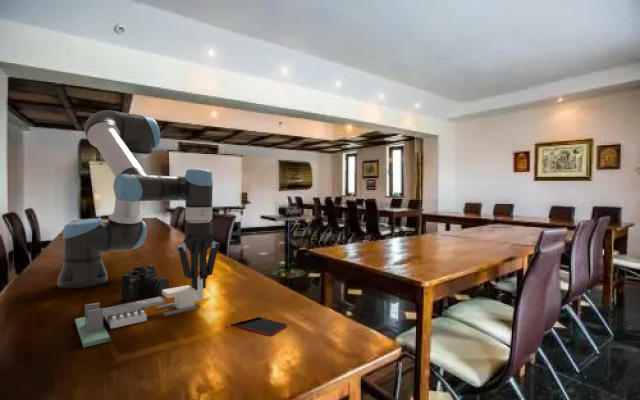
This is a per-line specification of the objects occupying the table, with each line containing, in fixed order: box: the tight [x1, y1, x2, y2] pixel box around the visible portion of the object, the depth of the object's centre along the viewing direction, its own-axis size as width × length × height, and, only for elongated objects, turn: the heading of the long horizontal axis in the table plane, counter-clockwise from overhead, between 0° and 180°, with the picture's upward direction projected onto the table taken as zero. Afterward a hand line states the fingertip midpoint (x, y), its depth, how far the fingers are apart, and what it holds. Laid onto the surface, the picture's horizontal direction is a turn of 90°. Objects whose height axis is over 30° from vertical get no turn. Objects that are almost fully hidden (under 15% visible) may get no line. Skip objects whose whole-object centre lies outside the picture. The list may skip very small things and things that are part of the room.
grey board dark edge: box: [102, 296, 166, 318], centre depth 88 cm, size 17×4×1 cm, turn 131°
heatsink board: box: [74, 302, 198, 348], centre depth 90 cm, size 18×28×6 cm, turn 131°
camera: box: [120, 264, 170, 302], centre depth 108 cm, size 14×11×10 cm
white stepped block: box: [162, 284, 196, 310], centre depth 96 cm, size 5×8×6 cm, turn 131°
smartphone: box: [230, 316, 288, 337], centre depth 88 cm, size 7×1×15 cm
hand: (198, 299), depth 100 cm, fingers closed
